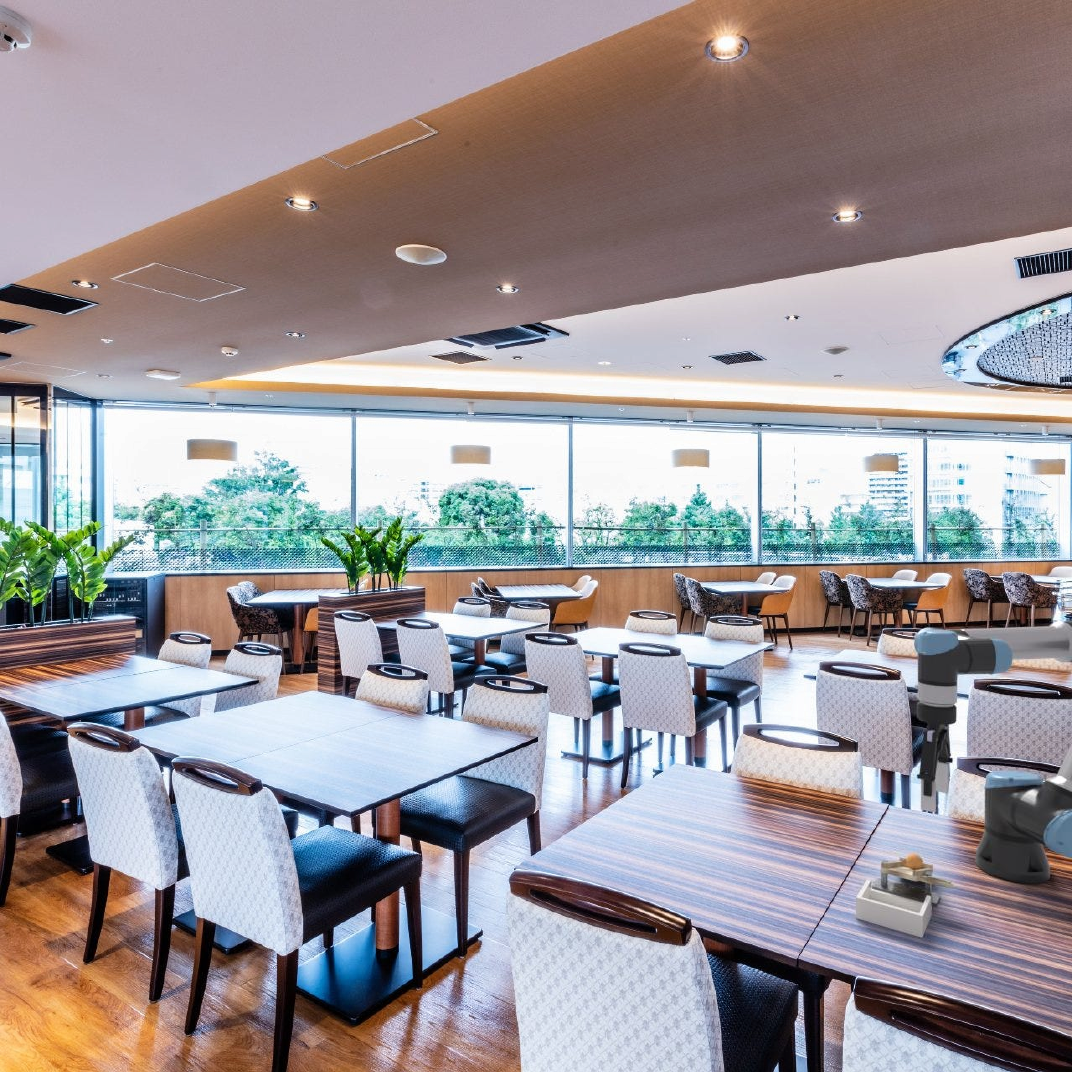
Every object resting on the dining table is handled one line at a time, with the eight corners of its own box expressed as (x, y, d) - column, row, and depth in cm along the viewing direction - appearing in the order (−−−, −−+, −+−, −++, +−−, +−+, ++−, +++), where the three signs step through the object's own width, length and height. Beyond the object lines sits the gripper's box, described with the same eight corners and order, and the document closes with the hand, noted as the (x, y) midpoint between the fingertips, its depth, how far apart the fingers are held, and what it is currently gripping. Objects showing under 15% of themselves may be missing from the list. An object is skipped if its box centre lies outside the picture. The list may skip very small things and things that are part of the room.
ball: (923, 869, 179) (924, 854, 179) (921, 873, 176) (921, 857, 176) (907, 865, 181) (908, 850, 181) (904, 868, 178) (905, 853, 178)
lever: (961, 885, 174) (962, 872, 175) (948, 889, 158) (949, 875, 159) (898, 869, 182) (899, 856, 183) (879, 871, 166) (880, 858, 166)
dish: (931, 915, 161) (932, 894, 161) (922, 937, 153) (922, 916, 153) (868, 897, 169) (868, 877, 169) (855, 918, 160) (856, 897, 160)
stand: (940, 897, 169) (940, 871, 169) (936, 906, 165) (936, 879, 165) (877, 880, 177) (877, 855, 177) (872, 888, 173) (872, 863, 172)
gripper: (929, 689, 176) (927, 781, 177) (904, 711, 156) (902, 814, 157) (966, 694, 171) (964, 788, 172) (945, 717, 152) (943, 823, 152)
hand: (934, 800), depth 165 cm, fingers open, 13 cm apart
